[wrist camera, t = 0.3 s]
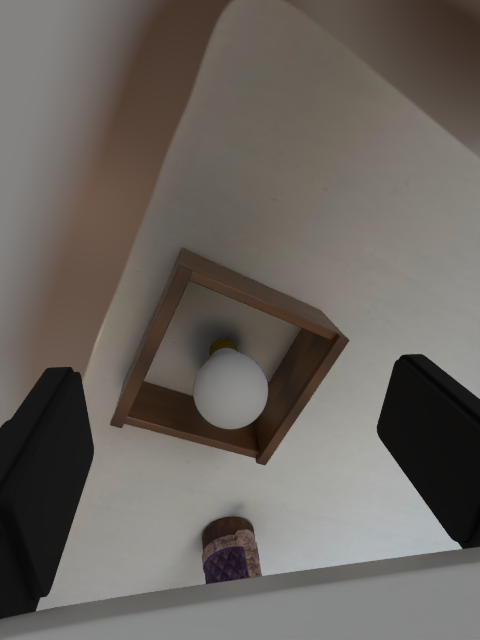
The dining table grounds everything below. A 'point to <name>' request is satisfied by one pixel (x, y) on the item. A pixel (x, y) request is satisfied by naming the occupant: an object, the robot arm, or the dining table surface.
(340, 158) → the dining table surface
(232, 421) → the light bulb
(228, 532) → the mug
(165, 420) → the brown wooden square frame
